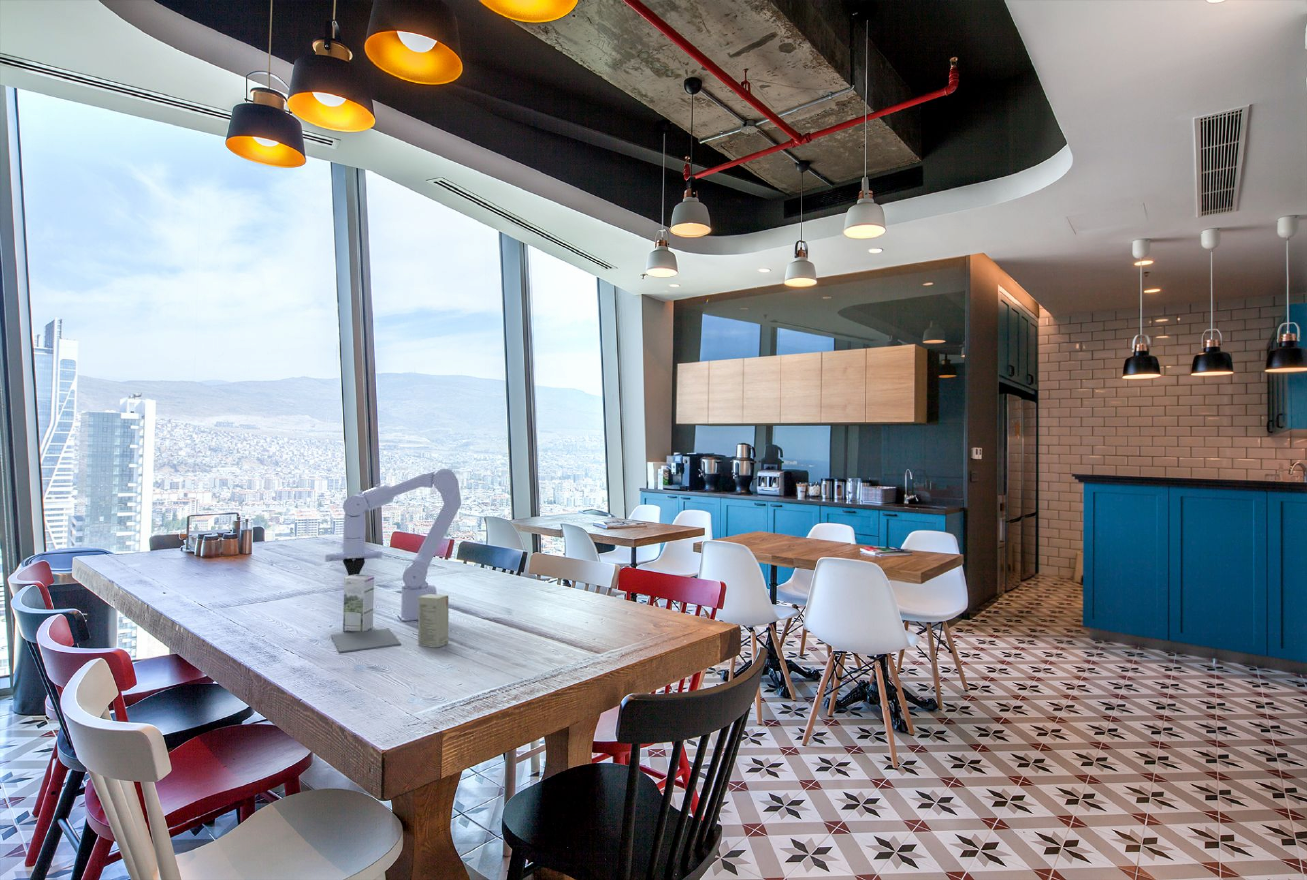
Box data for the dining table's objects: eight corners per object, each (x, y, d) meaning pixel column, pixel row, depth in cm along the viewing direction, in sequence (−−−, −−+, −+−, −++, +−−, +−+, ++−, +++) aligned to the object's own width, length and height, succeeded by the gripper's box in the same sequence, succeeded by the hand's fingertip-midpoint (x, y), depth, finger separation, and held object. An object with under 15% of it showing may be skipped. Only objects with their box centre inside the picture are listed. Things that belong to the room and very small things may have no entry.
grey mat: (388, 629, 178) (388, 628, 178) (400, 645, 164) (400, 643, 164) (331, 636, 170) (331, 635, 170) (339, 653, 157) (339, 651, 157)
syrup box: (373, 627, 180) (375, 574, 180) (362, 633, 174) (363, 578, 174) (353, 626, 181) (355, 573, 181) (341, 632, 175) (343, 577, 175)
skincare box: (449, 643, 166) (450, 595, 166) (438, 648, 162) (439, 598, 162) (427, 640, 168) (429, 592, 168) (416, 645, 164) (417, 596, 164)
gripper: (379, 534, 195) (378, 580, 194) (324, 537, 187) (323, 585, 187) (383, 537, 189) (382, 585, 188) (327, 540, 181) (325, 589, 181)
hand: (353, 585), depth 187 cm, fingers closed
